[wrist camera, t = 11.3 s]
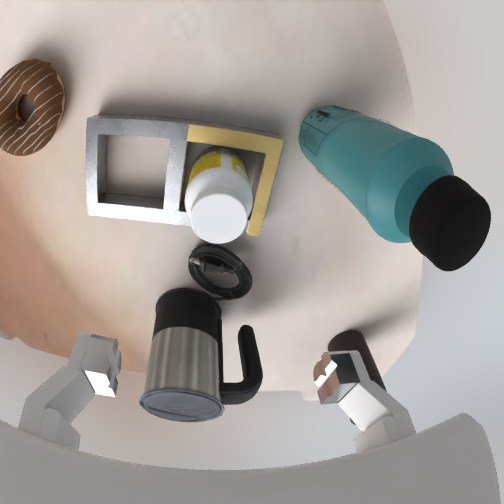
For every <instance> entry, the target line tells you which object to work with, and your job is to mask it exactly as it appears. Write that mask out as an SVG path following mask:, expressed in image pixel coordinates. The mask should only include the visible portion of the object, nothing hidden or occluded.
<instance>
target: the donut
mask: <svg viewBox="0 0 504 504" xmlns="http://www.w3.org/2000/svg"><path fill="white" fill-rule="evenodd" d="M22 95H28V96H29V97H30V98H31V99H32V101H33V103H34V110H33V113H32V115H31V116H30V117H29V118H28V119H27V120H23V119H20V117H19V114H18V103H19V100H20V99H21V96H22ZM64 103H65V94H64V87H63V83H62V80H61V78H60V76H59V74H58V73H57V71H56V70H55V69H54V68H53V67H52V66H51V64H50V63H47V62H44V61H40V60H37V59H34V60H27V61H23V62H21V63H19V64H17V65H15V66H14V67H12V68H11V69H10V70H8V71H7V72H6V73H5V74H4V75H3V77H2V78H1V79H0V148H2V149H3V150H4V151H6V152H7V153H10V154H12V155H15V156H16V155H17V156H27V155H30V154H33V153H35V152H37V151H39V150H40V149H42V148H43V147H44V146H45V145H46V144H47V143H48V142H49V141H50V140H51V138H52V137H53V135H54V133H55V132H56V130H57V128H58V126H59V124H60V121H61V118H62V115H63V111H64Z"/></svg>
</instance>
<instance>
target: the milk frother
mask: <svg viewBox="0 0 504 504" xmlns="http://www.w3.org/2000/svg"><path fill="white" fill-rule="evenodd" d="M188 263H189V265H188V266H189V272H190V274H191V276H192V278H193V279H194V280H195V281H196V282H197V283H198V284H199V285H200V286H201V287H203V288H204V289H206V290H207V291H209V292H211V293H213V294H215V295H219V296H222V297H218V298H212V297H211V296H209V295H208V294H206V293H204V292H201V291H198V290H192V289H177V290H172V291H170V292H168V293H166V294H164V295H163V296H161V297H160V299H159V300H158V302H157V304H156V319H155V326H154V332H153V338H152V344H151V349H150V355H149V361H148V367H147V374H146V381H145V387H144V394H143V396H142V397H141V399H140V400H139V404H140V405H141V406H142V407H143V408H144V409H145V410H146V411H148V412H149V413H151V414H153V415H155V416H158V417H160V418H164V419H168V420H172V421H180V422H202V421H208V420H213V419H215V418H217V417H219V416H221V415H222V413H223V412H224V406H223V405H228V404H229V405H233V404H241V403H244V402H246V401H248V400H250V399H251V398H252V397H253V396H254V395H255V394H256V393H257V391H258V390H259V388H260V385H261V383H262V379H263V372H262V367H261V362H260V357H259V353H258V348H257V344H256V340H255V335H254V331H253V329H252V327H251V326H249V325H243V326H242V327H241V328H240V330H239V333H238V344H239V351H240V358H241V364H242V371H243V378H244V379H243V381H241V382H239V383H224V382H223V345H222V320H221V309H220V306H219V304H218V303H217V302H216V301H219V300H231V299H236V298H241V297H243V296H244V295H246V294H247V293H248V292H249V290H250V289H251V287H252V276H251V273H250V271H249V270H248V268H247V267H246V266H245V264H244V263H243V262H242V261H241V260H240V259H239V258H238V257H237V256H236V255H235V254H234V253H232V252H231V251H229V250H228V249H226V248H224V247H222V246H219V245H214V244H204V245H200V246H198V247H196V248H195V249H194V250H193V251H192V253H191V255H190V257H189V261H188ZM198 265H200V266H201V270H202V273H205V271H209V272H220V273H223V272H228V273H231V274H233V273H235V274H236V275H237V276H238V278H239V284H238V285H237V286H235V287H232V288H223V287H219V286H217V285H215V284H213V283H211V282H210V281H208V280H207V279H206V278H205V277H204V276H203V275H202V273H201V272H200V270H199V268H198Z"/></svg>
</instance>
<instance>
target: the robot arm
mask: <svg viewBox="0 0 504 504" xmlns="http://www.w3.org/2000/svg"><path fill="white" fill-rule="evenodd" d="M321 357H322V360H321V361H319V362H317V364H316V365H315V367H314V372H313V374H314V381H315V383H316V384H317V385H318V386H319V389H318V391H317V392H318V396H319V399H320V403H321V404H331V403H338V405H339V406H340V407H341V408H342V409H343V410H344V411H345V413H346V414H347V415H348V416H349V417H350V418H351V419H352V421H353V422H354V423H355V424H356V425H357V426H358V427H359V428H360V429H361V431H362V433H361V434H359V435H358V436H356V437H355V439H354V442H355V446H356V450H357V453H354V454H351V455H346V456H342V457H338V458H333V459H328V460H323V461H318V462H312V463H306V464H300V465H293V466H285V467H276V468H265V469H252V470H190V469H177V468H166V467H157V466H148V465H142V464H136V463H130V462H124V461H119V460H114V459H110V458H105V457H101V456H97V455H93V454H89V453H85V452H82V451H79V443H80V434H79V432H78V431H77V430H76V429H75V428H74V427H73V426H72V425H71V424H70V423H71V422H72V421H73V420H74V419H75V418H76V417H77V415H78V414H79V413H80V412H81V411H82V410H83V409H84V407H85V406H86V405H87V404H88V403H89V402H90V400H91V399H92V398H93V397H94V396H95V393H96V394H101V395H107V396H112V397H115V396H116V390H117V385H118V382H117V378H116V376H117V375H118V374H119V373H120V369H121V352H120V350H119V349H118V341H117V339H115V338H110V337H105V336H99V335H94V334H90V333H85V332H80V333H79V334H78V335H77V338H76V341H75V344H74V347H73V350H72V353H71V356H70V359H69V362H68V365H67V367H66V366H63V367H62V368H61V369H60V370H58V371H57V372H56V373H55V374H54V375H53V376H51V377H50V378H49V379H48V380H47V381H46V382H44V383H43V384H42V385H41V386H40V387H39V388H37V389H36V390H35V391H34V392H33V393H32V394H30V395H29V396H28V397H27V398H26V401H25V404H24V407H23V411H22V415H21V419H20V423H19V427H18V428H16V427H14V426H12V425H10V424H8V423H6V422H4V421H2V420H0V504H501V501H500V492H499V484H498V478H497V472H496V468H495V463H494V460H493V455H492V452H491V448H490V445H489V442H488V439H487V436H486V433H485V431H484V429H483V427H482V426H481V425H480V424H479V423H478V422H477V421H476V420H475V419H473V418H472V417H471V416H469V415H468V414H466V413H461V414H459V415H457V416H454V417H453V418H451V419H448V420H446V421H444V422H442V423H440V424H438V425H435V426H433V427H431V428H428V429H426V430H424V431H421V432H419V433H416V431H415V429H414V426H413V423H412V421H411V418H410V415H409V413H408V410H407V409H405V408H404V407H403V406H402V405H401V404H400V403H399V402H398V401H396V400H395V399H394V398H393V397H391V395H389V394H388V393H387V392H386V391H385V390H384V389H382V388H381V387H380V386H379V385H378V384H377V383H375V382H374V381H371V380H370V378H369V375H368V373H367V370H366V368H365V365H364V363H363V360H362V358H361V355H360V353H359V352H358V351H356V350H353V351H334V352H325V353H324V354H323V355H322V356H321Z"/></svg>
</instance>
